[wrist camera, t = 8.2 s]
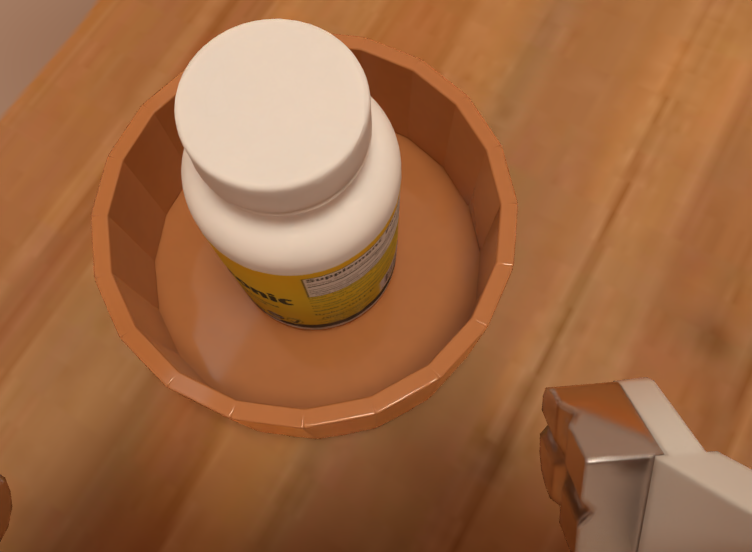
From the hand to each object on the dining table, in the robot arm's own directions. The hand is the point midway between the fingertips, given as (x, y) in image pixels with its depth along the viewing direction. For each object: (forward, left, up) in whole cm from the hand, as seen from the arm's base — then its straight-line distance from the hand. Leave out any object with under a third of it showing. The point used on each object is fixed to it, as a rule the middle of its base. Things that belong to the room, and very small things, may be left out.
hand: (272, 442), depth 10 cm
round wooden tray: (-5, -5, -12) cm, 14 cm away
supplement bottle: (-5, -5, -11) cm, 13 cm away
